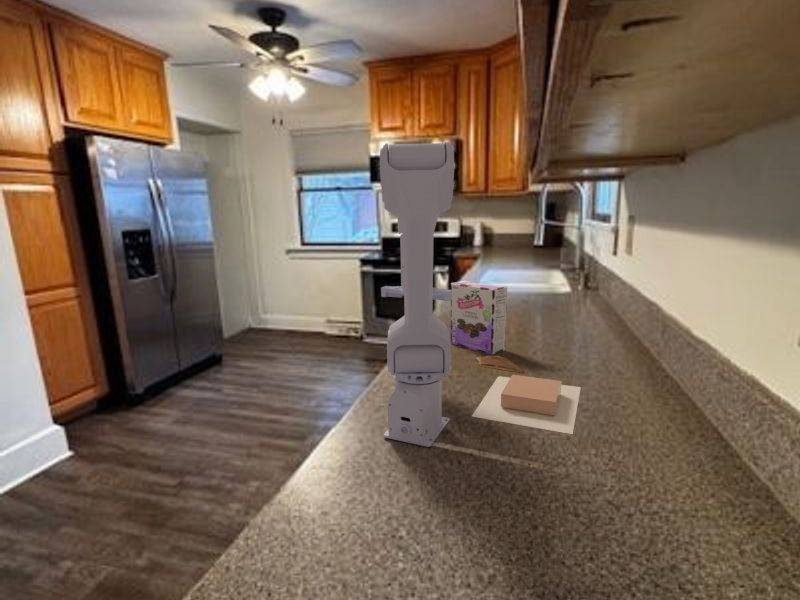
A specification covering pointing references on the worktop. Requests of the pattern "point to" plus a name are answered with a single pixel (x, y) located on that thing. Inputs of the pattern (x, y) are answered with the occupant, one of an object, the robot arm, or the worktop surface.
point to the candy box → (478, 316)
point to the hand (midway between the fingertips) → (416, 333)
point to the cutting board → (558, 423)
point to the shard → (498, 363)
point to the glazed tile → (531, 394)
